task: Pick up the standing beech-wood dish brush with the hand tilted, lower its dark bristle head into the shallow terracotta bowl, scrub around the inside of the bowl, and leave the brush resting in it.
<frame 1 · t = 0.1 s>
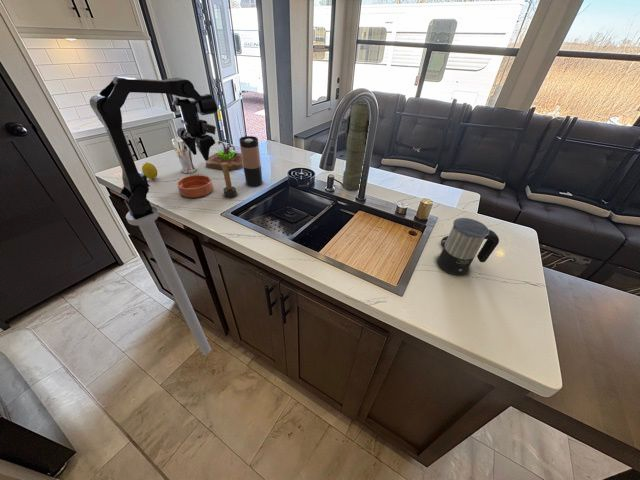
hand: (201, 157, 106), 13 cm above the worktop, tool pointing down, fingers open, 9 cm apart
lemon: (153, 179, 116), on the worktop
plant: (227, 163, 134), on the worktop
beer glass: (189, 171, 125), on the worktop
travel mug: (254, 183, 117), on the worktop
milk frother: (450, 257, 83), on the worktop
bowl: (197, 191, 109), on the worktop
green banded column: (351, 186, 119), on the worktop
dish brush: (230, 195, 108), on the worktop
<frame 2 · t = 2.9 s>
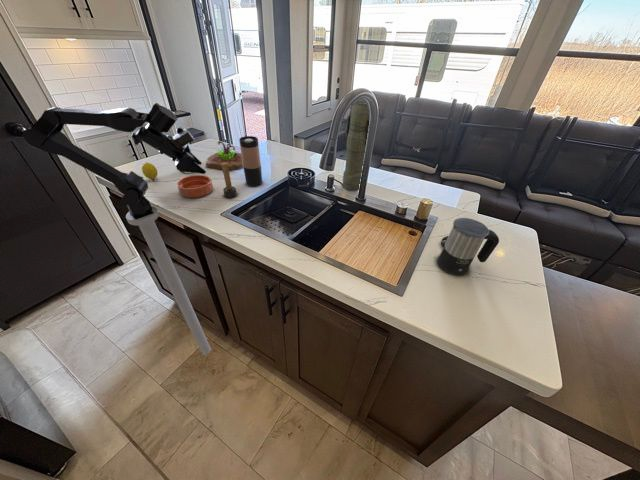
hand: (203, 168, 96), 13 cm above the worktop, tool tilted 45°, fingers open, 9 cm apart
nothing on the worktop moved.
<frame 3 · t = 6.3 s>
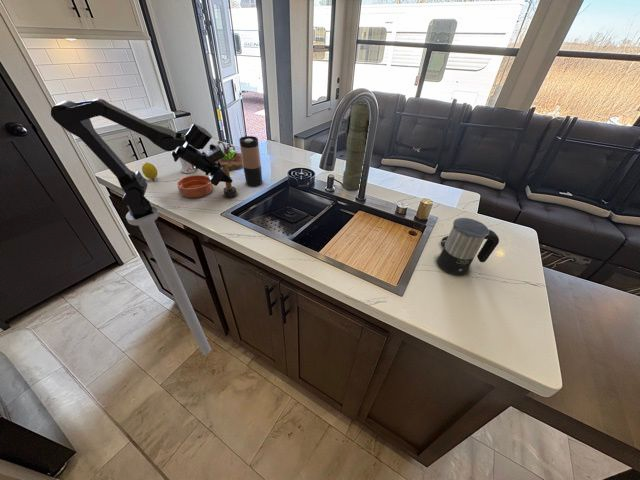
hand: (231, 180, 104), 7 cm above the worktop, tool tilted 45°, fingers closed on dish brush, 2 cm apart
dish brush: (230, 195, 108), on the worktop, touching gripper
everything else where it was.
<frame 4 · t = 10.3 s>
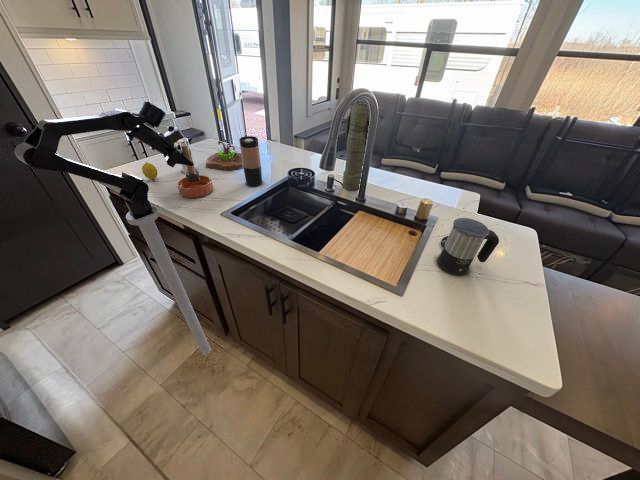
hand: (193, 163, 102), 12 cm above the worktop, tool tilted 45°, fingers closed on dish brush, 2 cm apart
dish brush: (193, 179, 106), point 5 cm above the worktop, touching gripper
everything else where it was.
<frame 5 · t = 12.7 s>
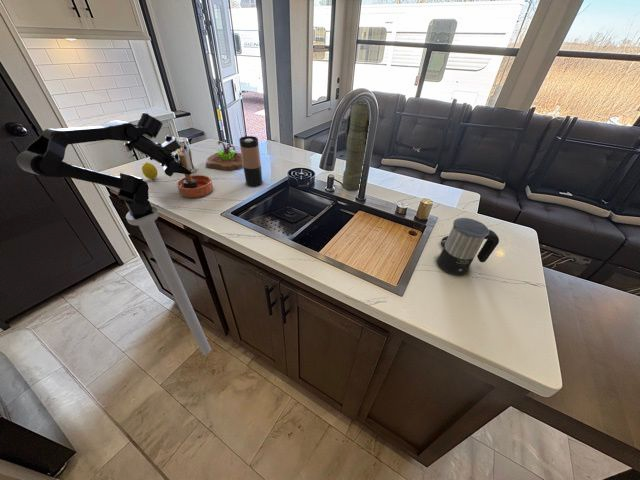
hand: (190, 172, 104), 8 cm above the worktop, tool tilted 45°, fingers closed on dish brush, 2 cm apart
dish brush: (191, 187, 108), point 2 cm above the worktop, touching gripper
everything else where it was.
when the fingers open (7 cm above the worktop, at t = 14.3 s): dish brush stays where it is, resting on bowl.
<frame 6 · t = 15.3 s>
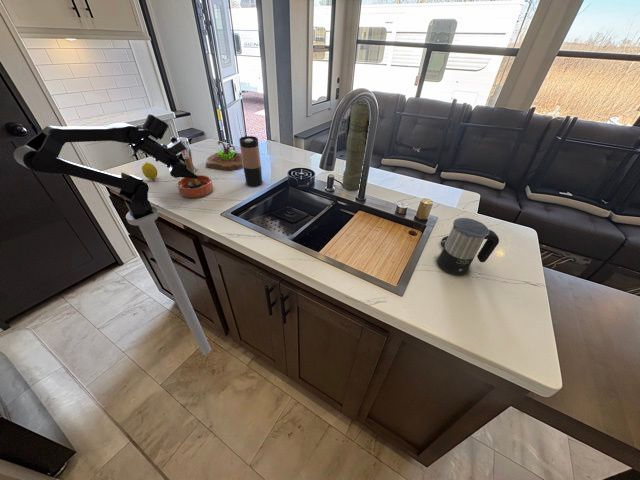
hand: (195, 173, 105), 8 cm above the worktop, tool tilted 45°, fingers open, 9 cm apart
dish brush: (196, 189, 109), point 1 cm above the worktop, touching bowl
everything else where it was.
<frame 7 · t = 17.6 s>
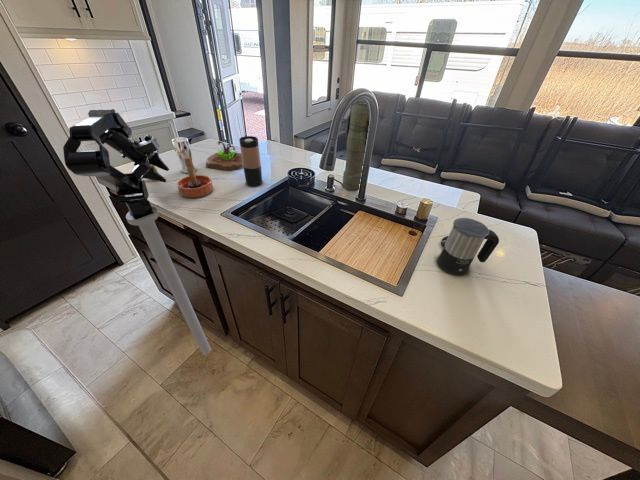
hand: (167, 175, 100), 9 cm above the worktop, tool tilted 40°, fingers open, 9 cm apart
nothing on the worktop moved.
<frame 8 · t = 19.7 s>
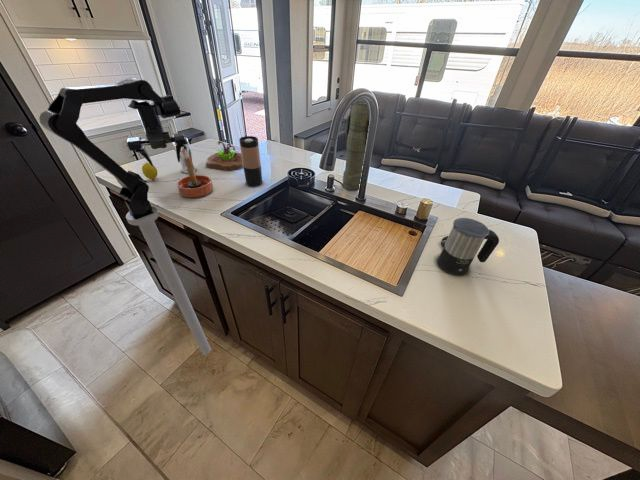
hand: (166, 163, 99), 13 cm above the worktop, tool pointing down, fingers open, 9 cm apart
nothing on the worktop moved.
at the end: dish brush inside the target area in the bowl (0.1 cm from its centre), point 0.8 cm above the bowl's base; dish brush moved 15.3 cm from its start; the gripper is holding nothing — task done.
